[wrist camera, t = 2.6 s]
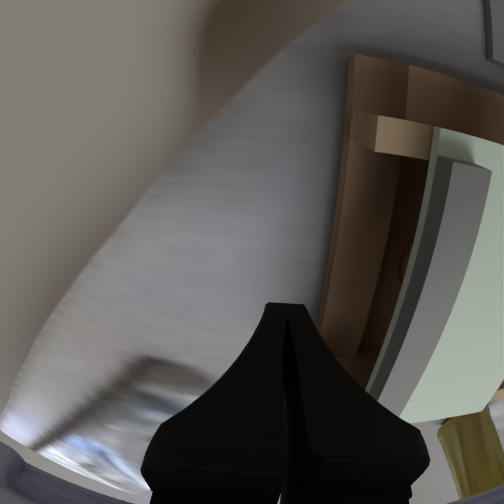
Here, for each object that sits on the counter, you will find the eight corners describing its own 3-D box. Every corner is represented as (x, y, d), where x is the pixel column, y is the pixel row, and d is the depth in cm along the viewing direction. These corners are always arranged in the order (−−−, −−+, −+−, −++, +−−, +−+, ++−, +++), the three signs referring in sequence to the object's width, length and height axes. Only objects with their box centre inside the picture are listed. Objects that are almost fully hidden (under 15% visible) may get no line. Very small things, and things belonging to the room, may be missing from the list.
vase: (497, 404, 23) (540, 513, 10) (461, 439, 26) (490, 542, 13) (464, 401, 23) (508, 530, 10) (425, 438, 25) (452, 557, 13)
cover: (578, 174, 8) (600, 185, 7) (479, 405, 15) (487, 423, 14) (434, 126, 9) (457, 132, 7) (351, 420, 15) (355, 444, 14)
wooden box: (592, 144, 12) (640, 165, 7) (514, 365, 20) (538, 406, 16) (347, 57, 13) (382, 39, 8) (305, 379, 21) (308, 442, 17)
